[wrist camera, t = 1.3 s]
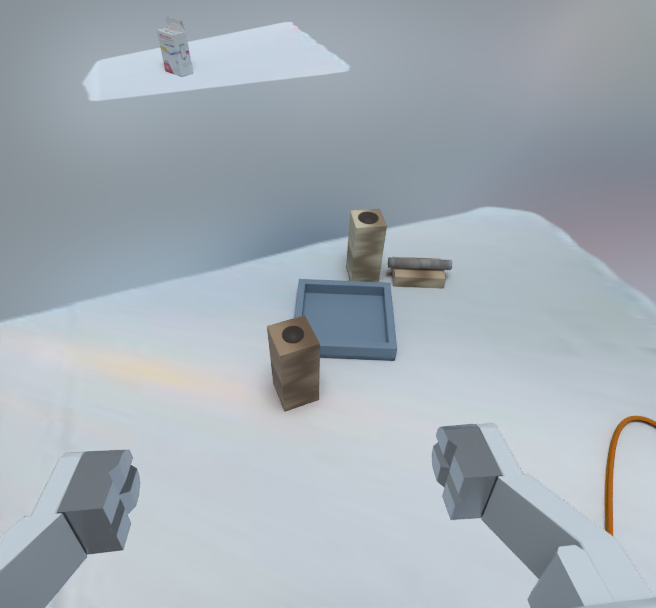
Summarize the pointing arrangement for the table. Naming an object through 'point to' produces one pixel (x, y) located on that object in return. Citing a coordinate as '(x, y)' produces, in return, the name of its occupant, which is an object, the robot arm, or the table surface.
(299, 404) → the walnut block
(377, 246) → the oak block
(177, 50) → the ink cartridge box
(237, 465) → the table surface
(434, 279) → the gauge rest
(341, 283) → the tray
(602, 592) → the robot arm
